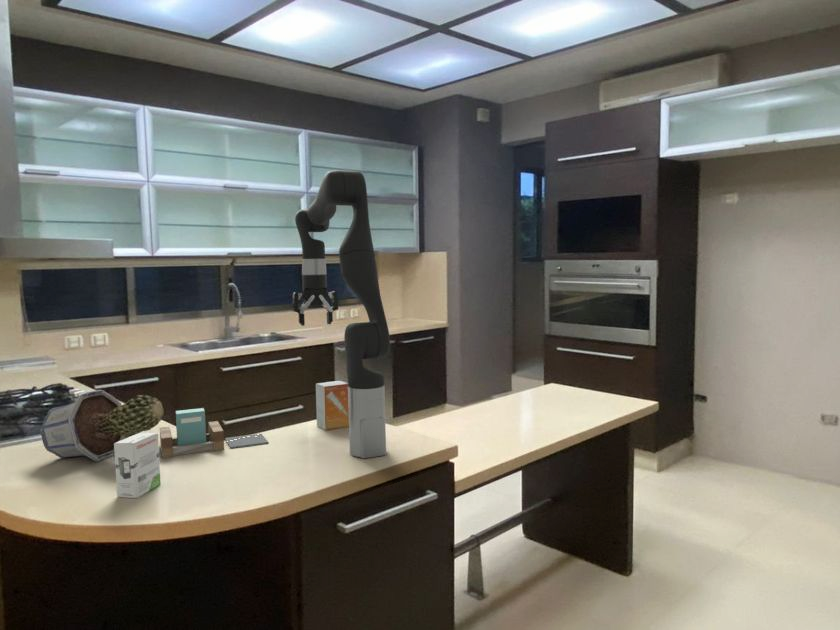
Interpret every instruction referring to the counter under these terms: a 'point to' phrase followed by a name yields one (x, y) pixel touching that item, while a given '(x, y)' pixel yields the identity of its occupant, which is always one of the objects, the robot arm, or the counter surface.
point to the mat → (246, 440)
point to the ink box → (137, 465)
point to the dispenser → (213, 436)
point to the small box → (332, 405)
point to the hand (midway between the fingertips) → (316, 324)
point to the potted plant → (97, 424)
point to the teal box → (190, 426)
